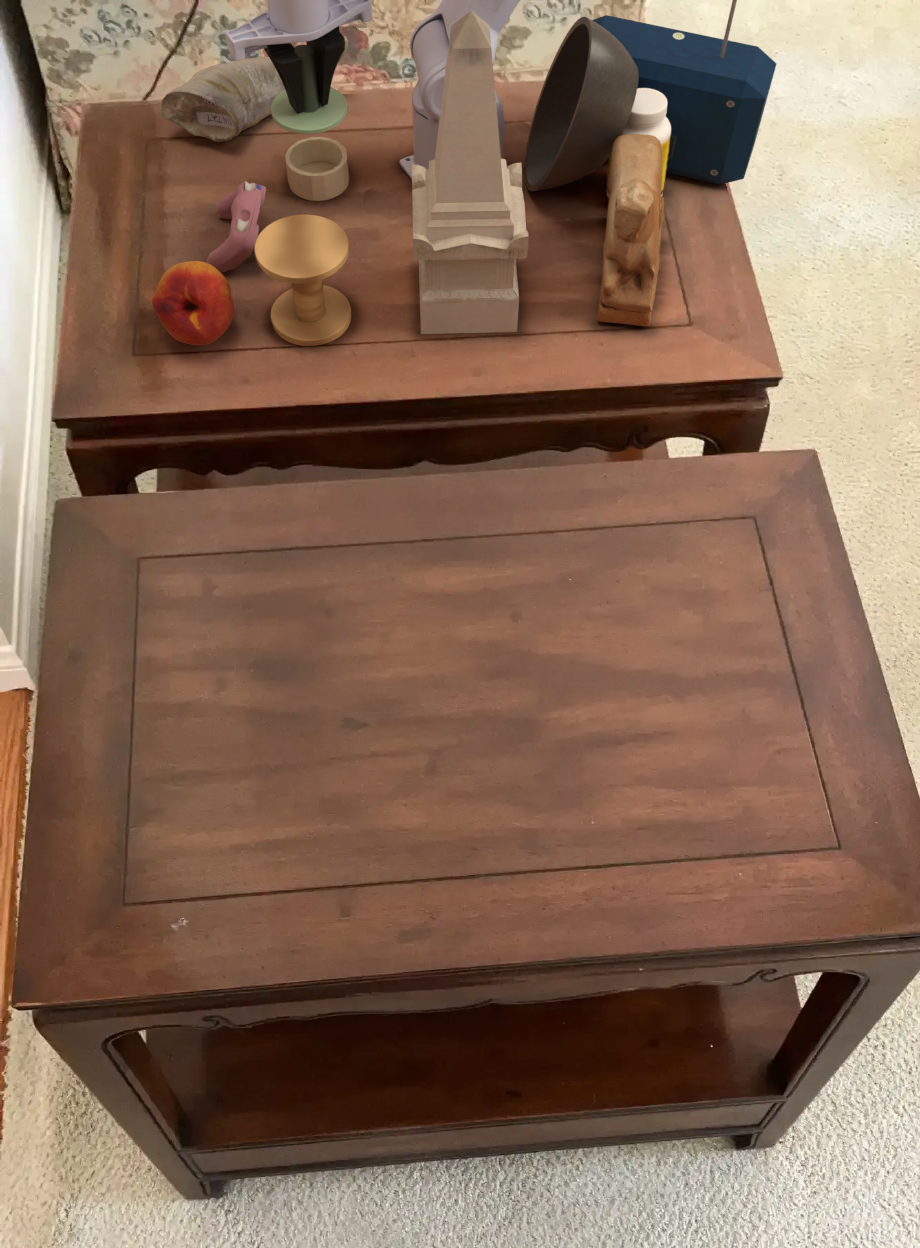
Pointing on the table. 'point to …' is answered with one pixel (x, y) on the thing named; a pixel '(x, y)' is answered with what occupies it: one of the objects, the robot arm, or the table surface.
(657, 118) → the pill bottle
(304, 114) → the cover
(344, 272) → the table surface
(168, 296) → the fruit
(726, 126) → the radio
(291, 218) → the stand
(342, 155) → the dish
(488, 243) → the miniature monument
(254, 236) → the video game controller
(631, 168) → the sculpture
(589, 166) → the bowl
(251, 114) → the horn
